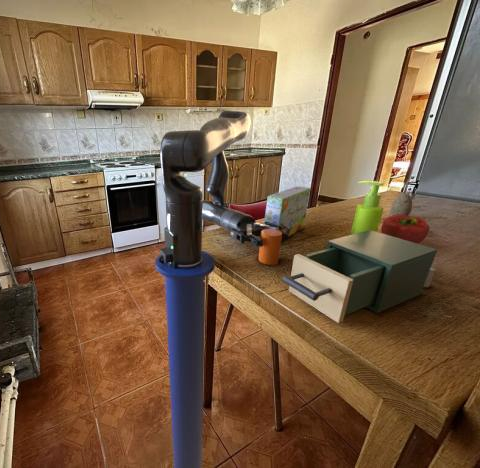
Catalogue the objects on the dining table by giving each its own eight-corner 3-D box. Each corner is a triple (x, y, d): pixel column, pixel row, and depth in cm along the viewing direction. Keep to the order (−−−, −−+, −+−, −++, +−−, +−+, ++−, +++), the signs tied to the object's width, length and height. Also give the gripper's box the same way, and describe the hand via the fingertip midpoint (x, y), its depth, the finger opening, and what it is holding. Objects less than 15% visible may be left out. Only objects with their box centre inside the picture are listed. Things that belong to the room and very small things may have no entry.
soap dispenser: (347, 243, 80) (363, 178, 73) (374, 250, 75) (393, 181, 68) (339, 248, 77) (354, 181, 70) (366, 256, 72) (386, 184, 65)
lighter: (429, 287, 57) (442, 254, 54) (421, 287, 57) (434, 254, 54) (403, 271, 64) (413, 241, 61) (396, 271, 64) (405, 241, 61)
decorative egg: (384, 217, 101) (392, 192, 97) (393, 215, 103) (400, 190, 100) (402, 221, 96) (411, 195, 92) (411, 219, 98) (419, 193, 95)
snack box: (277, 245, 81) (283, 198, 75) (261, 240, 85) (265, 195, 79) (304, 227, 94) (311, 187, 88) (289, 224, 98) (295, 185, 92)
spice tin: (267, 266, 68) (271, 237, 65) (254, 258, 73) (257, 230, 70) (282, 262, 70) (286, 233, 67) (268, 255, 75) (272, 227, 72)
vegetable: (429, 256, 70) (442, 221, 67) (382, 250, 75) (392, 217, 71) (414, 241, 80) (424, 210, 76) (373, 237, 84) (381, 207, 80)
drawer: (318, 331, 45) (328, 288, 41) (271, 296, 54) (275, 259, 51) (385, 303, 51) (397, 264, 48) (331, 276, 61) (339, 242, 58)
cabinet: (377, 313, 50) (392, 265, 46) (319, 282, 61) (327, 240, 57) (420, 294, 55) (437, 249, 51) (359, 268, 66) (370, 229, 62)
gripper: (218, 215, 78) (254, 231, 64) (255, 208, 83) (296, 223, 69) (217, 237, 81) (251, 258, 67) (253, 230, 86) (292, 248, 72)
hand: (274, 240), depth 68 cm, fingers open, 8 cm apart
